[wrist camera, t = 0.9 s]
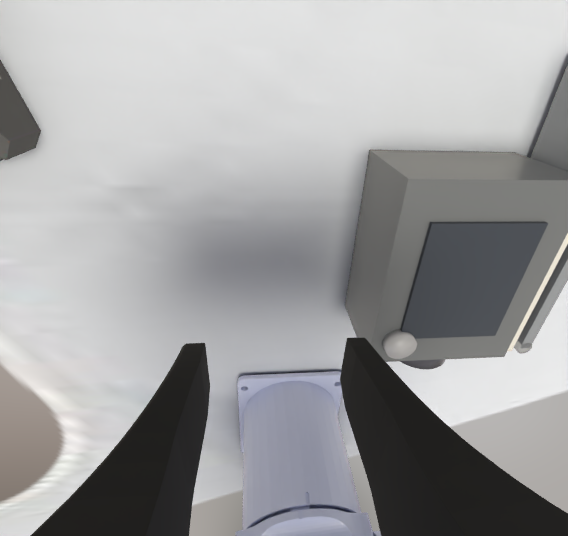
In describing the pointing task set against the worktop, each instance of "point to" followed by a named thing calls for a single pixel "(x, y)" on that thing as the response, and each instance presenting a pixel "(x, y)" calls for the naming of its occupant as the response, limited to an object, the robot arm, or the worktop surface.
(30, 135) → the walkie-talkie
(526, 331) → the side door
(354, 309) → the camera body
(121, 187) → the worktop surface
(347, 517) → the robot arm
